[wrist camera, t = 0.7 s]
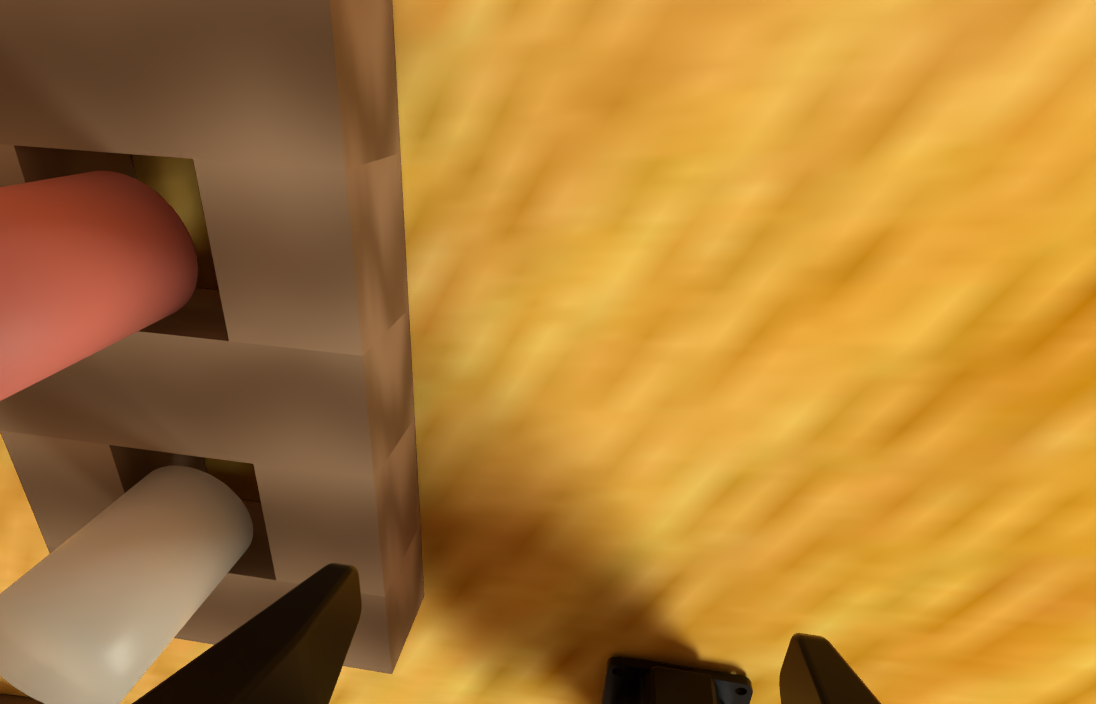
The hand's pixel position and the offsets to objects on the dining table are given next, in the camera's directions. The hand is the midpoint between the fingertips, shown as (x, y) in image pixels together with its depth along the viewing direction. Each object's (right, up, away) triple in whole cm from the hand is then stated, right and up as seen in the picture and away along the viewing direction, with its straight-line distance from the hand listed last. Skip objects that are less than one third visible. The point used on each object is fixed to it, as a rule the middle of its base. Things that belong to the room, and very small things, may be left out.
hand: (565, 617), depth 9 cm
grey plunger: (-13, -2, +13) cm, 19 cm away
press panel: (-12, +4, +14) cm, 19 cm away
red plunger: (-13, +7, +9) cm, 17 cm away
